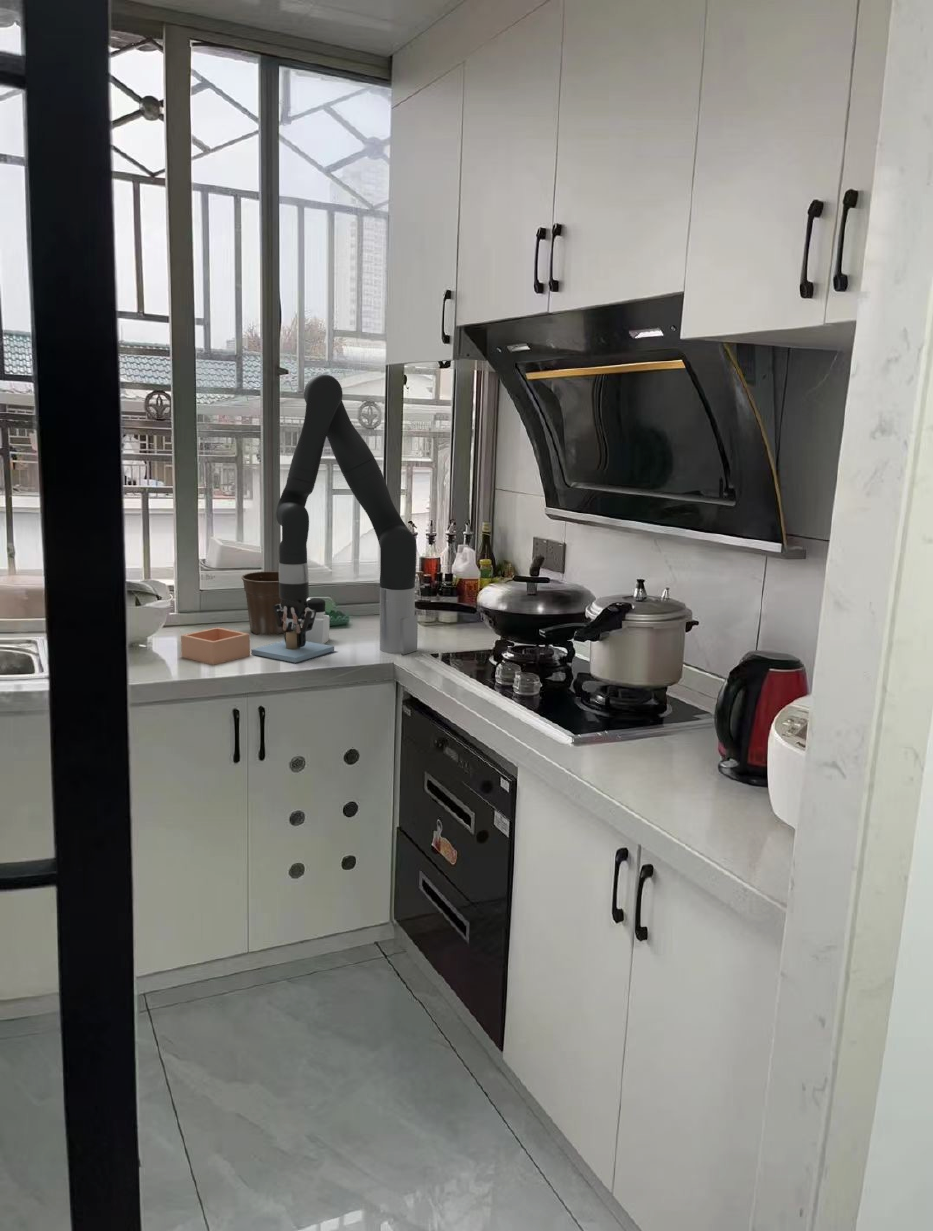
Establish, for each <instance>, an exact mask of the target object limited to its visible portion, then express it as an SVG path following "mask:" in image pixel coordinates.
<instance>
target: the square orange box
mask: <svg viewBox="0 0 933 1231" xmlns="http://www.w3.org/2000/svg"><path fill="white" fill-rule="evenodd" d="M250 636H251V635H250V633H247V632H242V631H237V630H232V629H227V628H224V627H223V628H222V627H217V626H216V627H214V628H209V629H204V630H199V631H195V632H191V633H187V634H181V635H180V643H181V644H180V647H181V658H184V659H187V660H188V659H189V660H193V661H196V662H200V663H204V664H209V665H212V666H213V665H214V666H215V665H218V664H219V665H220V664H223V663H226V662H230V661H234V660H237V659H241V658H246V657H250V656H251V640H250V639H251V637H250Z"/></svg>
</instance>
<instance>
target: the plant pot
mask: <svg viewBox="0 0 933 1231" xmlns="http://www.w3.org/2000/svg"><path fill="white" fill-rule="evenodd" d="M241 580H242V581H243V590H244V592H245V597H246V605H247V613H248V621H249V631H250V632H251V633H253V634H255V635H267V636H269V635H270V636H271V635H273V636H274V635H280V634H284V630H283V628H282V627H278V624H277V621H276V617H275V614H274V610H273V605H277V604H280V603H281V600H282V599H280V597H279V570H278V571H274V570H273V571H271V570H270V571H255V572H247V573H245V574H243V575H242V576H241ZM281 622H283V621H282V618H281ZM288 624H289V623H288ZM294 625H295V624H294V622H293V628H292V630H293V631H294Z"/></svg>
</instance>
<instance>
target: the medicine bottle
mask: <svg viewBox="0 0 933 1231" xmlns="http://www.w3.org/2000/svg"><path fill="white" fill-rule="evenodd" d="M307 604H308V608H310V609H311V610H316V616H315V620H314V623H313V627H312V630H310V631H307V632H306V641H308V642H313V643H319V644H324V645H326V643H327V642H328V641H329V640H330V621H331V620H330V618H331V617H330V615H327V614H326V601H325V600H324V599H323V598H318V597H308V598H307ZM305 614H306V613H305ZM300 620H301V619H299V621H300ZM300 625H301V624H300ZM301 628H302V625H301Z"/></svg>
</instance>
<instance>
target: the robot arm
mask: <svg viewBox="0 0 933 1231" xmlns="http://www.w3.org/2000/svg"><path fill="white" fill-rule="evenodd" d="M343 394H344V393H343V388H342V386H341V383H340V382H339V381H338V379H337V378H336V377H335V376H332V375H330V374H319V375H316V376H313V377H312V378H311V379H309V380H308V382H306V385H305V386H304V390H303V399H304V402H305V412H304V420H303V425H302V429H301V432H300V434H299V439H298V441H297V444H296V447H295V450H294V452H293V454H292V455H293V456H292V458H291V462H290V467H289V470H288V475H287V477H286V484H285V486H284V489H283V491H282V493H281V495H280V497H279V500H278V503H277V507H276V511H275V516H276V521H277V523H278V524H279V525H280V526H281V541H280V542H279V546H278V547H279V548H278V555H279V556H278V558H279V559H278V561H279V564H278V571H279V597H280V599H282V600H281V603H280V604H277V605H273V610H274V614H275V617H276V621H277V624H278V627H282V628H283V630H284V640H285V643H286V632H290V631H294V626H293V622H294V625H295V627H296V631H297V632H298V633H297V646H298V647H303V646H305V644H306V632H307V631H310V630H312V627H313V623H314V620H315V616H316V610H311V609H310V608H308V604H307V599H308V598H310V597H309V596H310V592H309V590H310V589H309V584H310V583H309V567H308V548H307V545H308V544H307V543H308V538H309V531H310V515H309V512H308V510H307V508H306V504H307V501H308V498H309V496H310V495H311V494H312V493H313V490H315V489H314V488H315V485H316V481H317V478H318V473H319V469H320V466H321V465H320V464H321V461H322V458H323V456H322V455H323V451H324V447H325V442H326V438H327V441H328V443H329V445H330V449H331V451H332V453H333V456H334V458H335V461H336V463H337V465H338V467H339V469H340V471H341V473H342V476H343V479H345V482H346V483H347V485H348V488H349V489H350V491H351V493H352V494H353V495H354V497H355V499H356V500H357V502H358V503H359V506H361V507H362V509H363V510H364V512H365V513H366V515H367V516H368V518H369V521H370V523H371V525H372V527H373V530H374V533H375V536H376V539H377V541H378V544H379V548H380V554H379V555H380V560H379V561H380V568H379V569H380V572H379V573H380V574H379V650H380V652H383V653H386V654H400V655H407V654H410V653H414V652H417V651H418V639H419V638H418V635H419V634H418V631H419V630H418V629H419V628H418V627H419V626H418V624H419V623H418V622H419V621H418V620H419V617H418V616H417V615H416V614H415V612H416V610H415V609H416V608H415V607H416V605H415V603H416V602H415V601H416V599H415V598H416V575H417V541H416V538H415V535H414V534H413V533H412V531H411V530H410V529H409V528H408V526H407V525H406V524H405V522H404V520H403V519H402V517H401V516H400V514H399V512H398V511H397V509H396V507H395V505H394V503H393V501H392V497H391V495H390V492H389V489H388V484H387V482H386V479H385V477H384V474H383V472H382V470H381V468H380V466H379V463H378V462H377V460H376V457H375V455H374V454H373V452H372V450H371V449H370V447H369V446H368V444H367V443H366V442H365V439H364V438H363V437H362V436H361V434H360V432H359V431H358V430H357V428H355V425H354V424H353V423H352V421H351V419H350V416H349V414H348V412H347V410H346V407H345V405H344V402H343ZM305 613H306V614H305ZM281 618H282V621H283V622H281ZM299 619H301V620H300V621H299ZM288 623H289V624H288ZM300 624H301V625H302V628H301V625H300ZM292 628H293V630H292Z"/></svg>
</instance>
